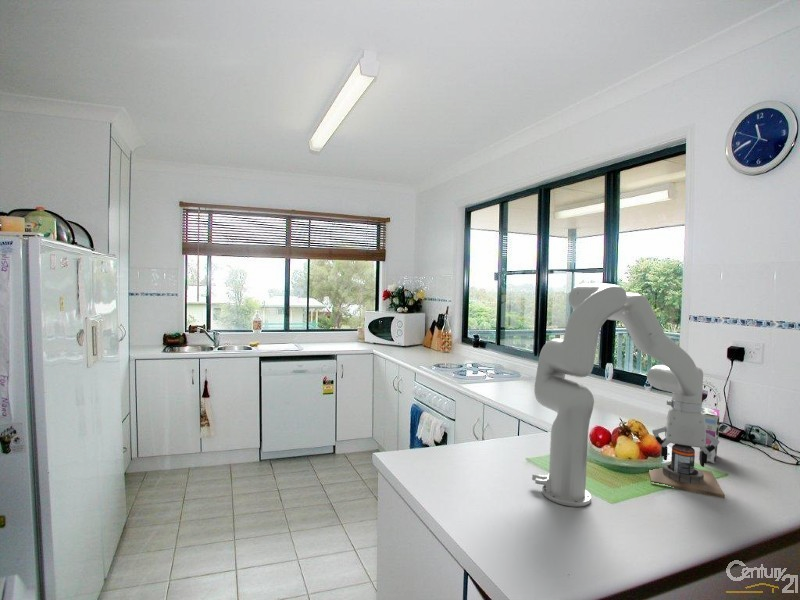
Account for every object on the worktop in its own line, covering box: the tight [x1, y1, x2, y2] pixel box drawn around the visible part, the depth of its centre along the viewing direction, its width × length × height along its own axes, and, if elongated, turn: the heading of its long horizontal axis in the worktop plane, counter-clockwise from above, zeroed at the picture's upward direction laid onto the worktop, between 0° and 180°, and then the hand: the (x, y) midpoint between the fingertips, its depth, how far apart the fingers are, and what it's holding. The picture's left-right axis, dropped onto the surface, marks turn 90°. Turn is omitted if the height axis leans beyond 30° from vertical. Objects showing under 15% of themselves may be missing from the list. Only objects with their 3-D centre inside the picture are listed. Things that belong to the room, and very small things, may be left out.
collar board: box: [648, 464, 726, 499], centre depth 136 cm, size 18×18×3 cm
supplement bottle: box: [670, 444, 696, 475], centre depth 136 cm, size 6×6×11 cm
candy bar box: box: [698, 407, 720, 464], centre depth 155 cm, size 11×5×16 cm, turn 145°
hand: (683, 462), depth 136 cm, fingers open, 9 cm apart
